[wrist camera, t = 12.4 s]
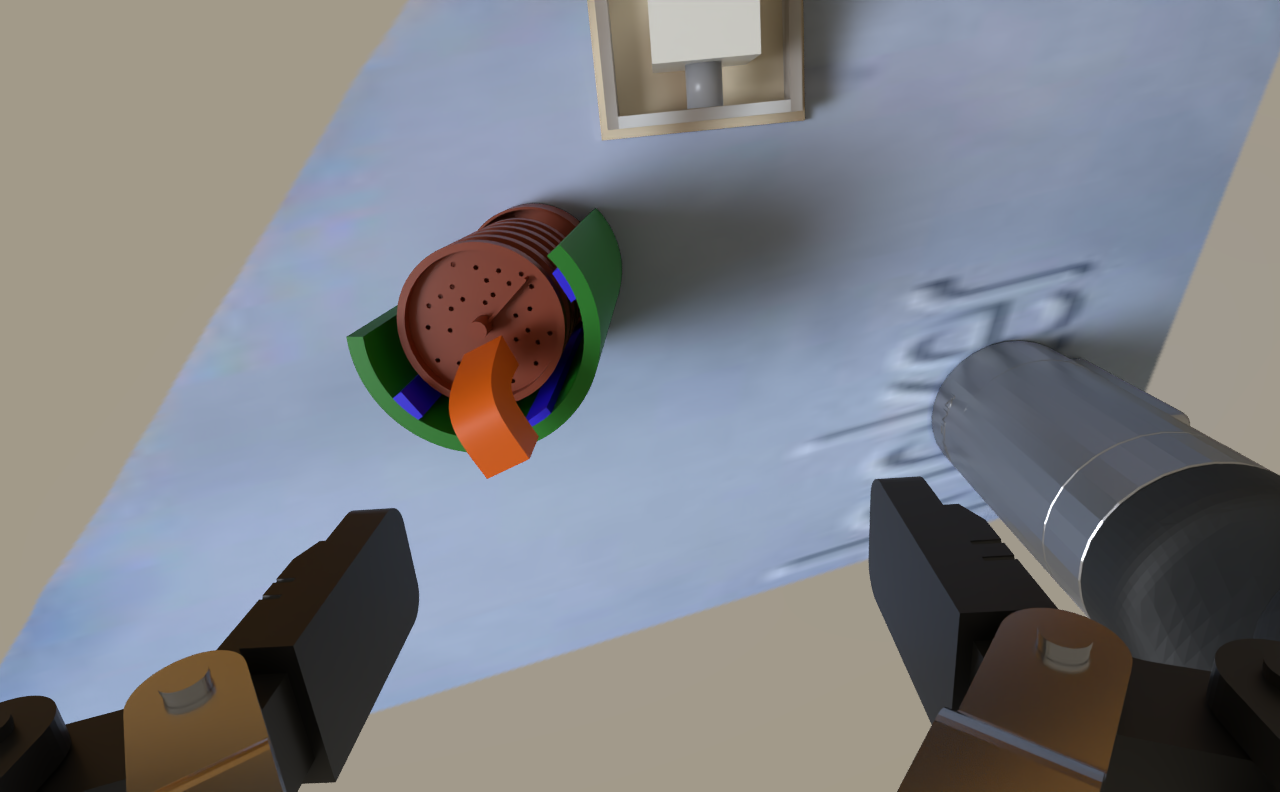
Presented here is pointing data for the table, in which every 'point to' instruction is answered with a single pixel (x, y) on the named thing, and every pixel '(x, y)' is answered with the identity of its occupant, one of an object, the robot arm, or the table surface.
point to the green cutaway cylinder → (496, 334)
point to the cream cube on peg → (703, 42)
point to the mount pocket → (660, 99)
